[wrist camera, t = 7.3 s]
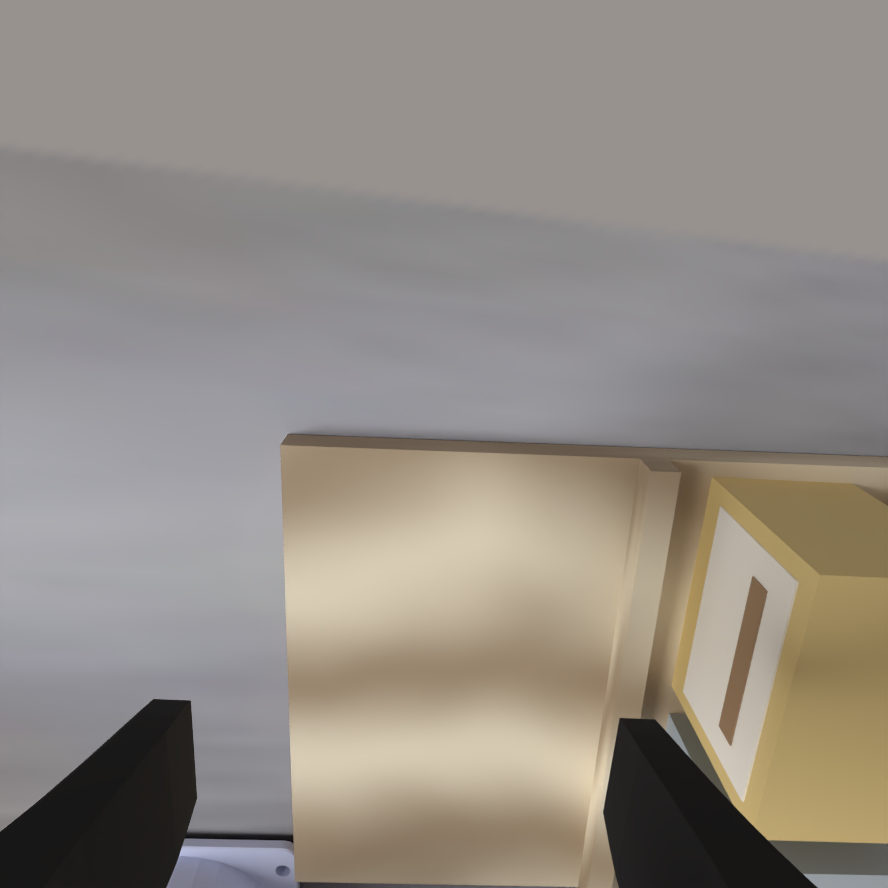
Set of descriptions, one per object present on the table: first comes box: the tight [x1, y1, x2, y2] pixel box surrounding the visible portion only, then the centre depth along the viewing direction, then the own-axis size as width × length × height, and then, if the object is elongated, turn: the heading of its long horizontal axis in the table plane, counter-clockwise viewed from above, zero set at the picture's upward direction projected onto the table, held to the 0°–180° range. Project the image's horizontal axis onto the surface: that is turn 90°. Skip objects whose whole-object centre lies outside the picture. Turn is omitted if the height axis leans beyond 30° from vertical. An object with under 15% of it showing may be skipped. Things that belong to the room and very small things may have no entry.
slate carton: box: [666, 713, 888, 888], centre depth 20 cm, size 7×4×6 cm, turn 177°
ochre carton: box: [672, 477, 888, 844], centre depth 17 cm, size 7×4×6 cm, turn 177°
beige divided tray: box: [280, 434, 888, 888], centre depth 21 cm, size 16×18×2 cm
